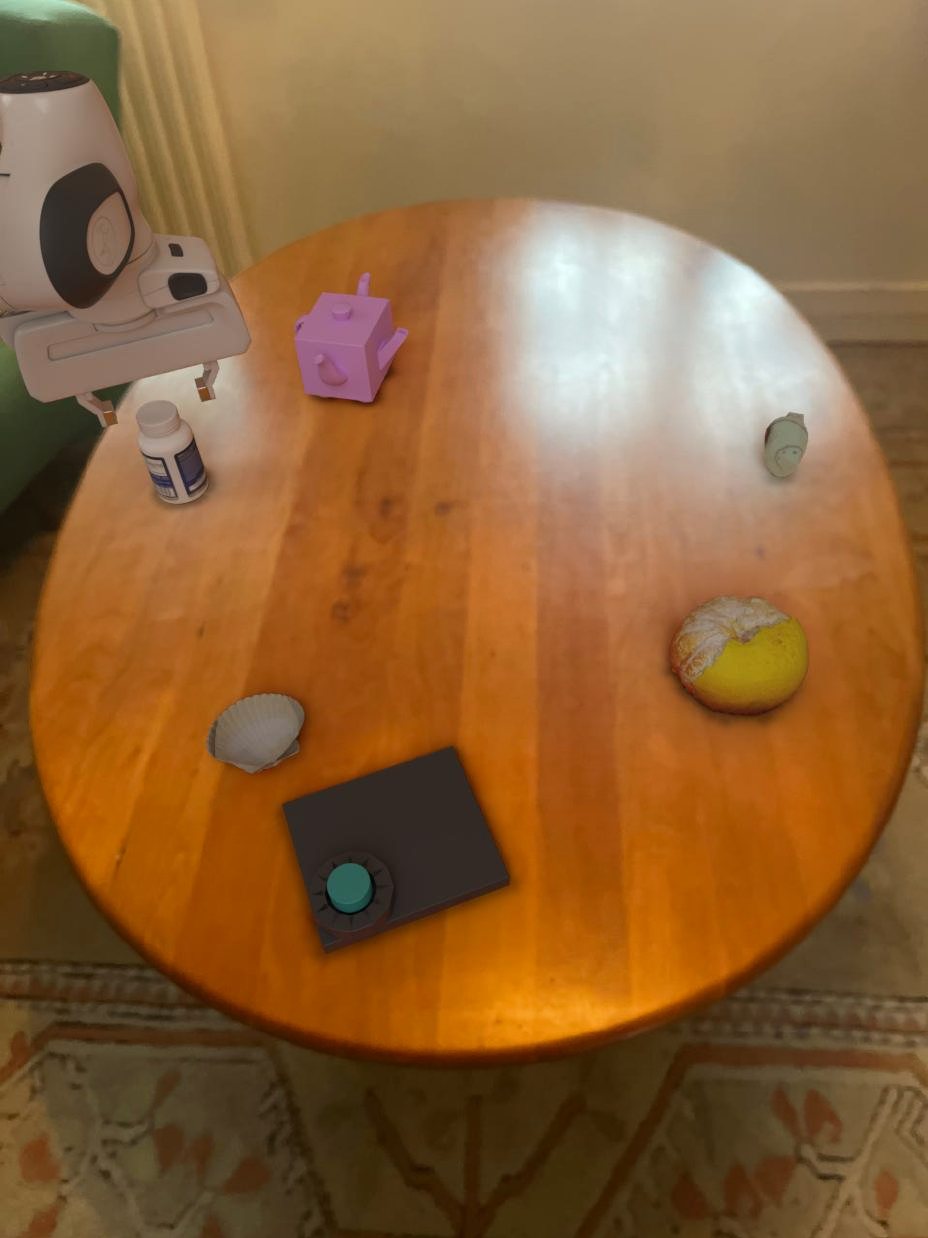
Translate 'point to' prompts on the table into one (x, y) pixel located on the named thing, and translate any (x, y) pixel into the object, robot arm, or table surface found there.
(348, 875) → the button
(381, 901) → the black button board
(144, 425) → the pill bottle
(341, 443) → the table surface
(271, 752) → the seashell
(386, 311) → the teapot
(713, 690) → the fruit
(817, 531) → the table surface
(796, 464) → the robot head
